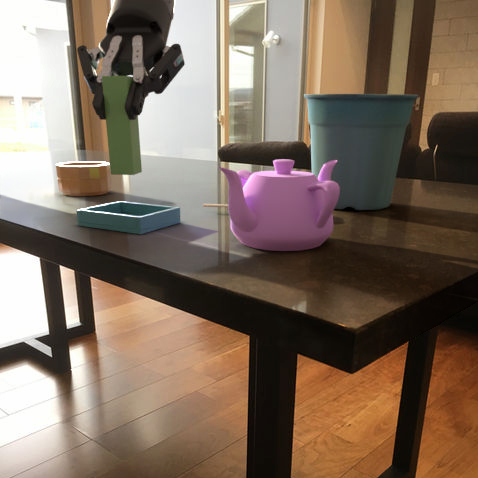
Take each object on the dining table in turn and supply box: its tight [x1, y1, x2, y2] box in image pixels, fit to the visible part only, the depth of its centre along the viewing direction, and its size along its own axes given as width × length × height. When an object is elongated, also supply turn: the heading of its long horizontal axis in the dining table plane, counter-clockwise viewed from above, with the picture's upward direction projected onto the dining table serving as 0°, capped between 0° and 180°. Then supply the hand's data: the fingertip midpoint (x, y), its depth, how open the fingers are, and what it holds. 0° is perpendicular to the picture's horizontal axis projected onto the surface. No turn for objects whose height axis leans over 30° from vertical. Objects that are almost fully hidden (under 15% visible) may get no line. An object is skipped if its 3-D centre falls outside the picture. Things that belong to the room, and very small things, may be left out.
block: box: [102, 75, 143, 176], centre depth 63 cm, size 3×3×11 cm
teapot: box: [218, 158, 340, 252], centre depth 57 cm, size 12×14×9 cm
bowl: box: [55, 161, 113, 197], centre depth 92 cm, size 9×9×5 cm
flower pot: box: [303, 93, 419, 211], centre depth 79 cm, size 16×16×16 cm
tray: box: [75, 200, 182, 235], centre depth 67 cm, size 10×8×2 cm
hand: (115, 113), depth 60 cm, fingers closed on block, 3 cm apart
